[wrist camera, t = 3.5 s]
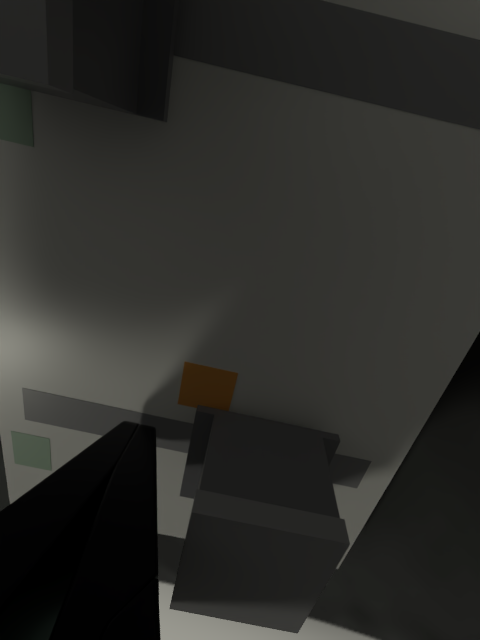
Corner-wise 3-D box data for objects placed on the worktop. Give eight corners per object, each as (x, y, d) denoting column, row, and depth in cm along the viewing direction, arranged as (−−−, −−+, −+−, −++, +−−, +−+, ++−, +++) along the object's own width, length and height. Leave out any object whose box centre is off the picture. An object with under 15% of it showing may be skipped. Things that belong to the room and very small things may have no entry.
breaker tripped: (339, 432, 7) (372, 548, 5) (302, 515, 9) (315, 636, 6) (198, 402, 7) (168, 507, 5) (180, 490, 8) (151, 605, 6)
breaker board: (633, -25, 5) (718, -69, 4) (331, 535, 11) (337, 569, 10) (-31, -198, 5) (-102, -287, 4) (31, 474, 11) (9, 504, 10)
